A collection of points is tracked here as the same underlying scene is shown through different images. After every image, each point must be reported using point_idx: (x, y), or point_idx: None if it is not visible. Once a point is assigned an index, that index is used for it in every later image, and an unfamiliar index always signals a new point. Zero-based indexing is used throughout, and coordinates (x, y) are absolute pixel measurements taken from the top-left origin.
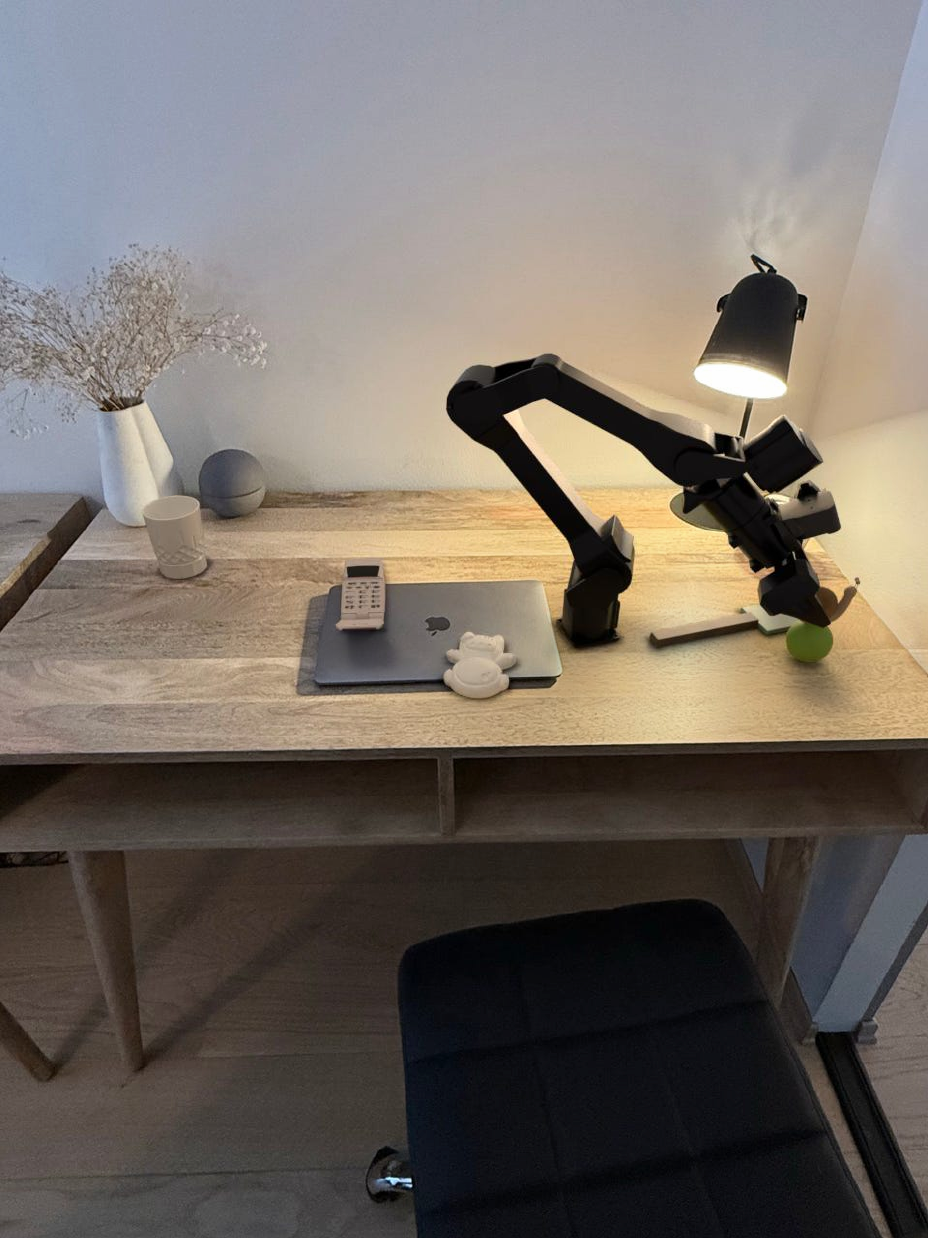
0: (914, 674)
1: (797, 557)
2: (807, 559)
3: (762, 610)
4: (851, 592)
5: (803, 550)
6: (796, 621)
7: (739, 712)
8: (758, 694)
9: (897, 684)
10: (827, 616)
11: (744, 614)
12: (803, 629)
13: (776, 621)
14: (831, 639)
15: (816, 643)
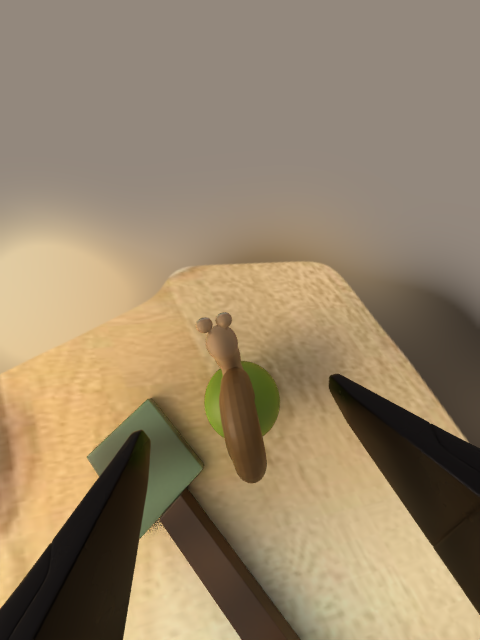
0: (217, 268)
1: (72, 616)
2: (80, 550)
3: None
4: (235, 338)
5: (17, 637)
6: (155, 424)
7: None
8: None
9: (246, 283)
10: (362, 387)
11: (172, 530)
12: (264, 420)
13: (166, 458)
14: (249, 364)
15: (274, 387)
